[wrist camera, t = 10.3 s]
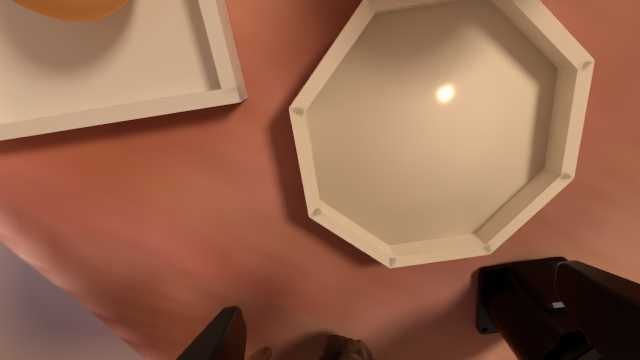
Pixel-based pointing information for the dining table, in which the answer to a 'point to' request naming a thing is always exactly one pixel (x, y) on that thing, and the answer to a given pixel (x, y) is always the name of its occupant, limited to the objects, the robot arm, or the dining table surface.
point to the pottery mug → (339, 350)
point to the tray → (114, 65)
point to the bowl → (440, 125)
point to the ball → (73, 8)
